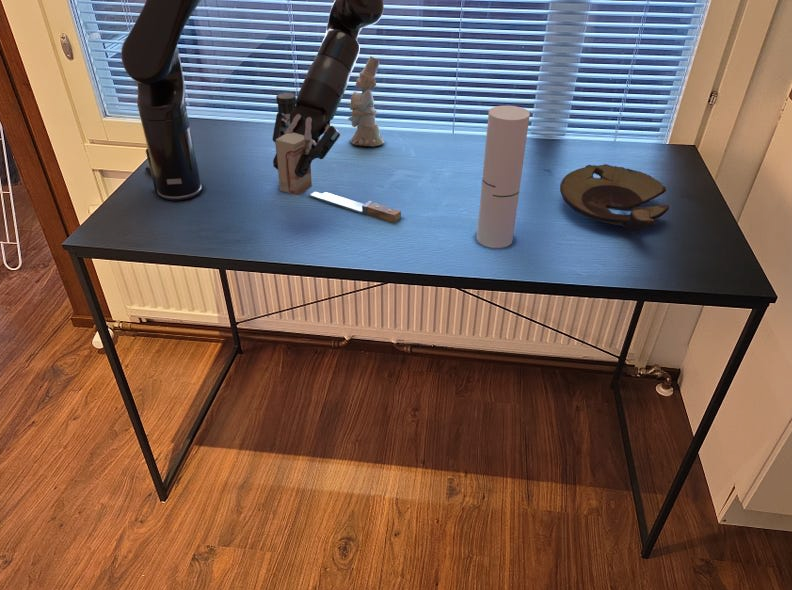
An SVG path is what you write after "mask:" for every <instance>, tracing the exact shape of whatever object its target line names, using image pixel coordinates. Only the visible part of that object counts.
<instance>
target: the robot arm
mask: <svg viewBox="0 0 792 590" xmlns="http://www.w3.org/2000/svg"><path fill="white" fill-rule="evenodd" d="M201 1H202V0H145V2H144V5H143V6H142V9H141V11H140V13H139V15H138V17H137V19H136V21H135V22H134V25H133V26H132V28H131V29H130V31H129V32H128V34H127V36H126V38H125V39H124V41H123V43H122V46H121V51H120V55H121V63H122V65H123V68H124V70H125V72H126V73H127V75H128V76H129V77H130V78H131V79H132V80H133V81H134V82H136V83H137V85H136V86H137V100H136V104H137V109H138V114H139V118H140V121H141V123H140V124H141V126H142V130H143V134H144V138H145V139H144V140H145V143H146V147H147V148H145V154H146V158H147V162H148V163H147V164H148V166H146V168H145V171H146V172H147V173H148V174H150V175H151V179H152V184H153V187H154V191H155V192H156V193H157V195H158V196H159V198H161V199H163V200H166V201H172V202H173V201H176V202H177V201H186V200H189V199H192V198H194V197H197V196H198V195H200V194H201V192H202V190H203V186H202V183H201V179H200V173H199V167H198V162H197V159H196V152H195V146H194V142H193V141H194V140H193V136H192V131H191V126H190V121H189V116H188V110H187V106H186V86H185V79H184V76H183V68H182V62H181V56H180V51H179V48H178V45H179V41H180V39H181V37H182V33H183V31H184V29H185V26H186V24H187V23H188V21H189V19H190V17H191V16H192V15H193V13H194V12H195V10H196V9H197V6H199V4H200V2H201ZM384 5H385V4H384V0H334V1H333V3H332V6H331V7H330V11H329V15H328V20H327V24H326V29H325V35H324V38H323V40H322V42H321V44H320V46H319V49H318V51H317V53H316V56H315V58H314V59H313V61H312V63H311V65H310V66H309V68H308V70H307V73H306V75H305V78H304V80H303V82H302V85H301V86H300V89H299V91H298V94H297V96H296V107H295V109H294V110H293V111H292V112H291V113H290V114H283V113H282V112H279V111H278V112H277V113H276V117H275V121H274V127H273V129H274V130H273V134H272V141H273V142H274V144H275V143H276V139H277V138H279V137H281V136H282V135H284V134H287V133H288V134H290V133H293V132H294V133H297V134H301V135H304V139H305V146H304V155H303V154H301V157H300V159H299V162H298V164H297V166H296V169H295V174H296V175H297V176H299V177H303V176H304V175H306V173H307V172H308V169H309V167H310V165H312V162H313V161H314V160H315V159H320V160H323V159H325V157H326V156H327V154H329V152H330V150H331V149H332V148H333V146H334V145H335V144H336V142H337V141H338V140H339V138H340V137H341V133H340V132H339V131H338V129H337V128H336V127H335V126H333V125H331V121H332V120H333V119H334V118H335V115H336V112H337V111H338V109H339V106H340V104H341V101H342V99H343V97H344V94H345V92H346V90H347V87H348V84H349V80H350V77H351V74H352V73H353V70H354V68H355V65H356V63H357V61H358V57H359V55H360V51H361V49H360V48H361V47H360V43H359V41H358V37H359V35H360V32H361V30H362V29H363V28H366V27H369V26H373V25H375V24H376V23H378V22H379V21H380V19H381V18H382V16H383V15H384V14H383V13H384V9H385V7H384ZM290 122H291V124H290V125H289V123H290ZM272 164H273V165H272V166H273V167H274V168H275V169H276V170H277V171H278V161H277V153H276V152H275V155H274V158H273V160H272Z"/></svg>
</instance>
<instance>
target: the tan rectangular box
mask: <svg viewBox="0 0 792 590" xmlns="http://www.w3.org/2000/svg"><path fill="white" fill-rule="evenodd" d="M304 146H305V139H304V135H301V134H297V133H294V132H293V133H290V134H288V133H287V134H284V135H282V136H281V137H279V138H277V139H276V144H275V150H276V149H277V161H278V170H277V173H278V172H279V175H278V180H279V181H278V183H279V191H281V192H284V193H287V194H291V195H295V196H299V195H301V194H303V193H304V192H306V191H307V190H309V189H311V188H312V185H313V184H312V168H311V167H312V166H311V165H312V164H311V165H310V167H309V169H308V172H307V173H306V175H304V176H303V177H299V176H297V175H296V174H295V169H296V166H297V164H298V162H299V159H300V157H301V154H303V155H304Z"/></svg>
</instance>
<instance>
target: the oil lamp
mask: <svg viewBox="0 0 792 590" xmlns="http://www.w3.org/2000/svg"><path fill="white" fill-rule="evenodd" d="M594 174H595V175H597V176H599V177H594ZM559 192H560V195H561V198H562V199H563V201H564V203H565V204H567V206H568V207H570V208H571V209H572V210H574V211H575V212H577V213H579V214H581V215H583V216H585V217H587V218H589V219H592V220H595V221H598V222H602V223H606V224H610V225H616V226H620V227H621V226H622V227H623V228H625V229H626V231H628V232H629V233H633V234H635V233H639V232H641V231H644V230H646V229H647V228H650V227H652V226H653V225H655V224H656V223H655V220H657V219H659V218H661V217H663V215H665V214H666V213H667V212H668V211H669V210H670V205H669V204H662V205H660V204H659V205H654V206H653V205H650V206H642V207H640V206H641V205H644V204H647V203H648V202H650V201H652V200H654V199H656V198H658V197H659V196H661V195H663V194H665V193H666V192H667V188H666V186H664V184H662V182H660V181H659V180H657V179H656V178H654V177H652V176H651V175H649V174H647V173H645V172H642V171H639V170H634V169H630V168H626V167H622V166H618V165H615V166H614V165H610V164H607V163H605V164H604V163H603V164H599V165H594V164H593V165H591V164H587V165H585V167H581V168H577V169H574V170H573V171H571V172H569V173H568V174H566V175H565V176H564V177H563V178H562V179H561V182H560V185H559ZM608 207H609V208H615V209H624V210H627V209H629V210H631V212H630V213H629V214H626V213H625V212H623V214H622V213H621V214H620V213H614V212H612V211H610V209H609V208H608Z"/></svg>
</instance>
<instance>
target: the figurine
mask: <svg viewBox="0 0 792 590" xmlns="http://www.w3.org/2000/svg"><path fill="white" fill-rule="evenodd" d="M379 67H380V60H378V59H377V58H375V57H373V56H369V58H368V60H367V62H366V64H365V66H364V68H363V69H362V70H361V71H360V72H359V77H356V78H355V82H356V83H355V88H357V89H360V90H361V92H358V91H356V90H354V91H353V92H352V95H351V97H350V103H349V110H350V111H351V114H350V115H351V116H349V117H348V118H347V120H348V121H349V122H351V126H352V127H353V128H356V130H355V132H354V135H353V136H352V137H351V140H350V143H351V144H352V145H355V146H362V147H377V146H381V145H383V144H384V143H385V141H384V139H383V138H382V136H381V133H380V129H379V128H380V127H379V123H377V122H376V115H377V113H378V112H377V109H376V108H375V107H374V105H375V100H374V96H373V90H374V89H375V87H376V86H377V81H376V75H377V73H378V69H379Z"/></svg>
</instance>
